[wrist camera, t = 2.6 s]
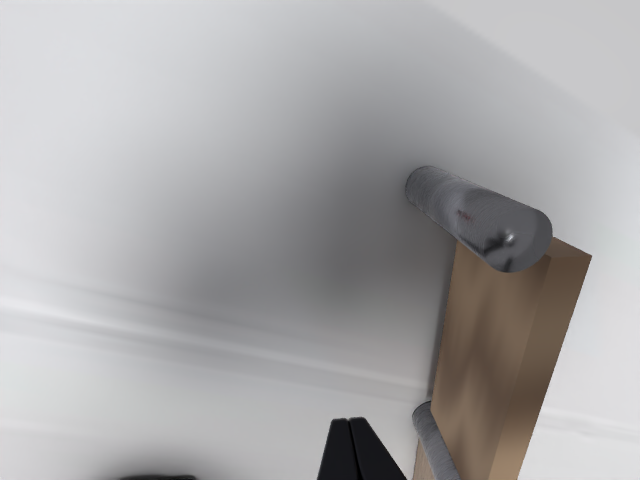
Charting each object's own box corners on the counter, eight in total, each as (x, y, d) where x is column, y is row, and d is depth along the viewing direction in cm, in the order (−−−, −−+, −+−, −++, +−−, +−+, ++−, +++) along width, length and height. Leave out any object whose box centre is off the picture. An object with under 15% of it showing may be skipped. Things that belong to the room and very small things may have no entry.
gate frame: (431, 516, 24) (482, 669, 17) (376, 521, 23) (406, 678, 17) (499, 164, 14) (673, 211, 8) (407, 166, 14) (505, 216, 7)
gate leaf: (450, 407, 18) (505, 513, 14) (430, 409, 18) (477, 516, 13) (489, 205, 14) (591, 255, 9) (462, 206, 14) (551, 257, 9)
